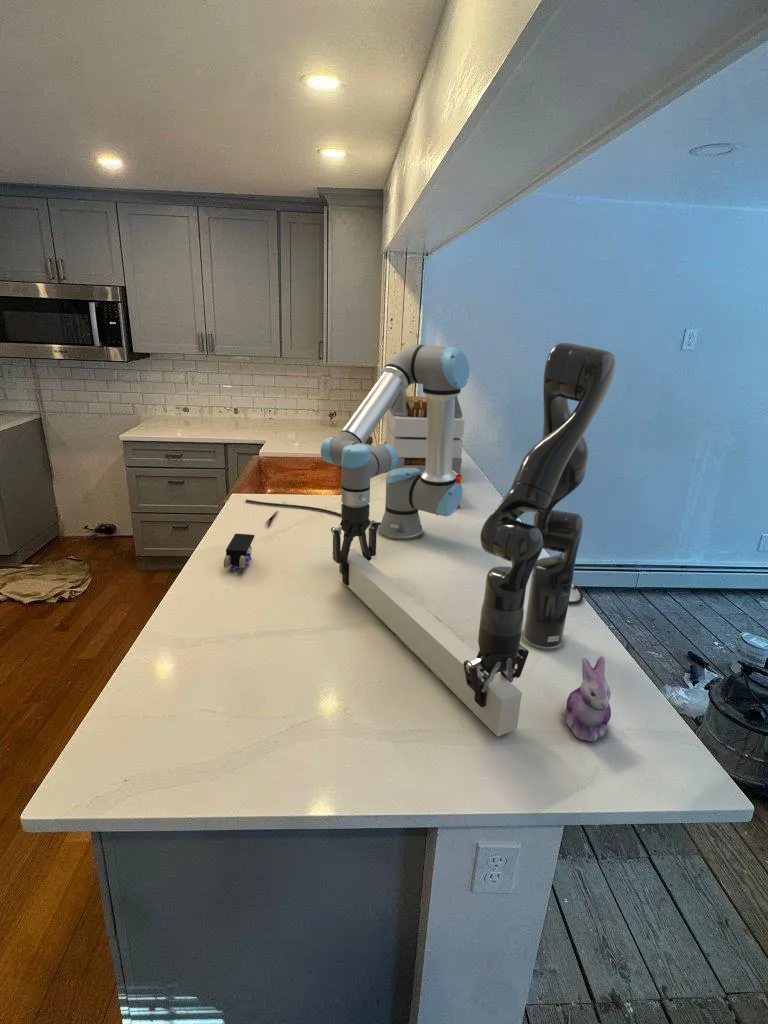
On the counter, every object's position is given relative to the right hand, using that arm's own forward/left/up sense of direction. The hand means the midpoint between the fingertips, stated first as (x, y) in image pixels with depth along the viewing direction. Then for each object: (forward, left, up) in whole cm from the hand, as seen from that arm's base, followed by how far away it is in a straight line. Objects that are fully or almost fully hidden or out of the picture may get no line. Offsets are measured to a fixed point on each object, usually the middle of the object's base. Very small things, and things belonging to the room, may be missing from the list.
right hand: (491, 700), depth 109 cm
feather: (-62, -109, -5) cm, 126 cm away
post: (-15, -26, -4) cm, 30 cm away
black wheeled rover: (-23, -89, -5) cm, 92 cm away
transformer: (-148, -94, -5) cm, 175 cm away
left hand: (-30, -52, -3) cm, 60 cm away
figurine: (-9, +17, -5) cm, 20 cm away
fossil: (-159, -136, -5) cm, 209 cm away
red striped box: (-121, -68, -5) cm, 139 cm away
